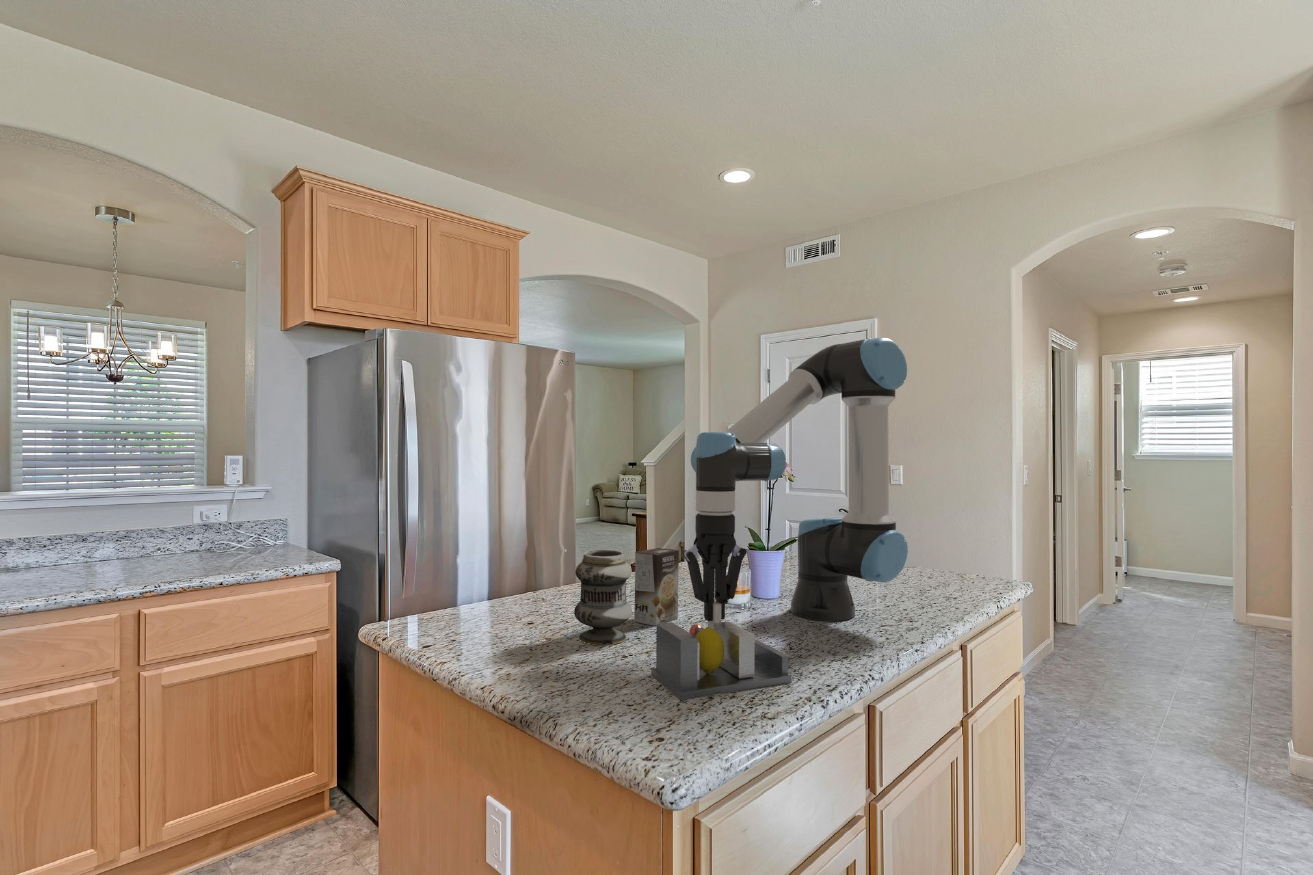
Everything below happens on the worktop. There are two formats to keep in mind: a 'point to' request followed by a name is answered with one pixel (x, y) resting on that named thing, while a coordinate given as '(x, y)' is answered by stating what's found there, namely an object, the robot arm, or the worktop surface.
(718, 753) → the worktop surface
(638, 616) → the coffee box
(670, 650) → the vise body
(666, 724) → the worktop surface
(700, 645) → the lemon
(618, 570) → the apothecary jar
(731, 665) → the free jaw
